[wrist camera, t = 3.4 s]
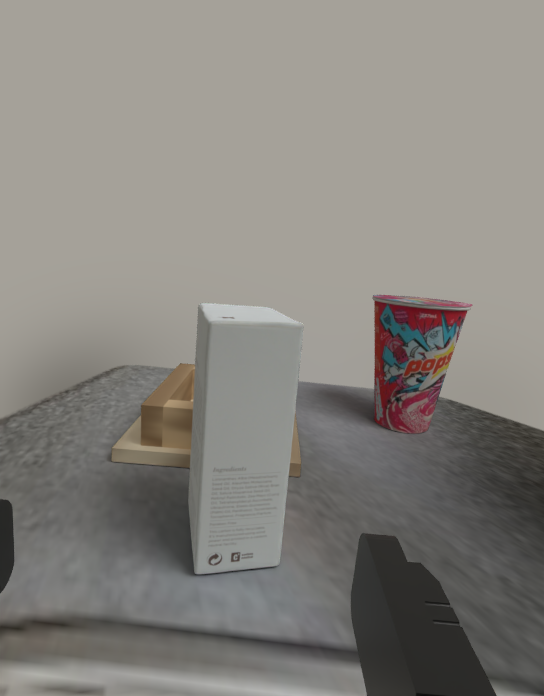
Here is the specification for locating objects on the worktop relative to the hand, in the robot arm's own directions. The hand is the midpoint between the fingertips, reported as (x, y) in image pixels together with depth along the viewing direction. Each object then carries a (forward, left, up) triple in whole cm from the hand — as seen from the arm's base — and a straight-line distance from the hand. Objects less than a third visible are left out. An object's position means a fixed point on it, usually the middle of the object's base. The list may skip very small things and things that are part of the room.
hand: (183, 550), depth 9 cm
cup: (-22, -25, -8) cm, 34 cm away
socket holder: (-4, -24, -8) cm, 26 cm away
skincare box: (-3, -11, -8) cm, 14 cm away
